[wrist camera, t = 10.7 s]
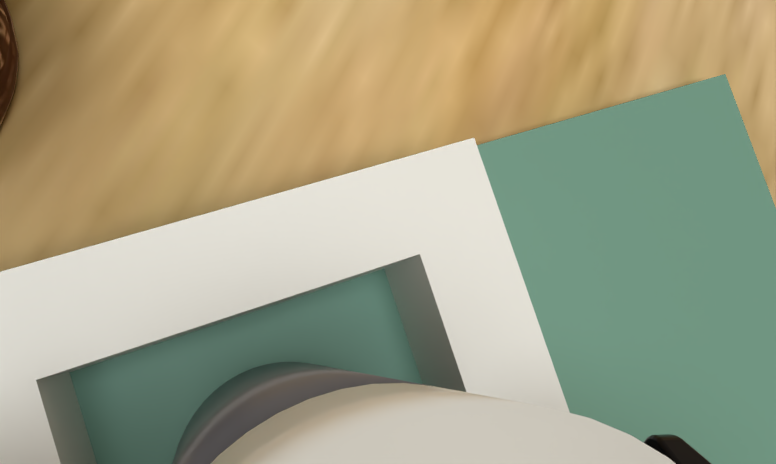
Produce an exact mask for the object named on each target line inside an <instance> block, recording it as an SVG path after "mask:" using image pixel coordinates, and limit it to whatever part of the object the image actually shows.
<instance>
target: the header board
mask: <svg viewBox="0 0 776 464" xmlns="http://www.w3.org/2000/svg"><path fill="white" fill-rule="evenodd" d="M278 362H302V363H310V364H316V365H321V366H327V367H332V368H338V369H343V370H348V371H354V372H359V373H365V374H370V375H376V376H381V377H386V378H392V379H397V380H403V381H408V382H414V383H419V384H425V385H430V386H435V387H441V388H446V389H452V390H457V391H463V392H468V393H473V394H479V395H484V396H490V397H495V398H501V399H506V400H512V401H517V402H522V403H528V404H533V405H539V406H544V407H549V408H553V409H557V410H561V411H565V412H568V413H572V414H576V415H580V416H584V417H588V418H591V419H594V420H596V421H598V422H601V423H603V424H606V425H608V426H610V427H613V428H615V429H617V430H620V431H622V432H625V433H627V434H629V435H631V436H633V437H635V438H636V439H638V440H640V441H641V442H643V443H644V441H645V440H646V438H647V437H649V436H651V435H663V434H671V435H676V436H678V437H680V438H681V439H683V440H684V441H685V442H686V443H688V444H689V445H690V446H691V447H692V448H694V449H695V450H696V451H697V452H698V453H700V454H701V455H702V456H703V457H704V458H706V459H707V460H708V461H709V462H710V463H711V464H776V208H775V205H774V203H773V200H772V197H771V195H770V192H769V189H768V187H767V184H766V181H765V179H764V176H763V173H762V171H761V168H760V165H759V163H758V160H757V157H756V155H755V152H754V149H753V147H752V144H751V141H750V139H749V136H748V133H747V131H746V128H745V125H744V123H743V120H742V117H741V115H740V112H739V110H738V107H737V104H736V102H735V99H734V96H733V94H732V91H731V88H730V86H729V83H728V80H727V78H726V75H725V74H724V75H721V76H717V77H714V78H710V79H707V80H703V81H700V82H696V83H693V84H689V85H686V86H682V87H679V88H675V89H672V90H668V91H665V92H661V93H658V94H654V95H651V96H647V97H644V98H640V99H637V100H633V101H630V102H626V103H623V104H619V105H616V106H613V107H609V108H606V109H602V110H599V111H595V112H592V113H588V114H585V115H581V116H578V117H574V118H571V119H567V120H564V121H560V122H557V123H553V124H550V125H546V126H543V127H539V128H536V129H532V130H529V131H525V132H522V133H518V134H515V135H511V136H508V137H505V138H501V139H498V140H494V141H491V142H487V143H484V144H480V145H477V144H476V142H475V139H474V138H471V139H468V140H464V141H461V142H457V143H454V144H450V145H447V146H443V147H440V148H436V149H432V150H429V151H425V152H422V153H418V154H415V155H411V156H408V157H404V158H401V159H397V160H394V161H390V162H387V163H383V164H379V165H376V166H372V167H369V168H365V169H362V170H358V171H355V172H351V173H348V174H344V175H341V176H337V177H334V178H330V179H326V180H323V181H319V182H316V183H312V184H309V185H305V186H302V187H298V188H295V189H291V190H288V191H284V192H281V193H277V194H273V195H270V196H266V197H263V198H259V199H256V200H252V201H249V202H245V203H242V204H238V205H235V206H231V207H228V208H224V209H220V210H217V211H213V212H210V213H206V214H203V215H199V216H196V217H192V218H189V219H185V220H182V221H178V222H175V223H171V224H167V225H164V226H160V227H157V228H153V229H150V230H146V231H143V232H139V233H136V234H132V235H129V236H125V237H122V238H118V239H114V240H111V241H107V242H104V243H100V244H97V245H93V246H90V247H86V248H83V249H79V250H76V251H72V252H69V253H65V254H62V255H58V256H54V257H51V258H47V259H44V260H40V261H37V262H33V263H30V264H26V265H23V266H19V267H16V268H12V269H9V270H5V271H1V272H0V464H172V463H173V460H174V457H175V454H176V451H177V448H178V445H179V442H180V440H181V437H182V435H183V433H184V431H185V428H186V426H187V425H188V423H189V421H190V420H191V418H192V416H193V415H194V413H195V412H196V411H197V410H198V408H199V407H200V406H201V404H202V403H203V402H204V401H205V400H206V399H207V398H208V397H209V396H210V395H211V394H212V393H213V392H214V391H215V390H216V389H218V388H219V387H220V386H222V385H223V384H224V383H225V382H227V381H228V380H230V379H232V378H233V377H235V376H237V375H239V374H241V373H243V372H245V371H247V370H250V369H252V368H255V367H259V366H262V365H266V364H271V363H278Z"/></svg>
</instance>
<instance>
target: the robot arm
mask: <svg viewBox="0 0 776 464" xmlns="http://www.w3.org/2000/svg"><path fill="white" fill-rule="evenodd" d="M644 443H645V444H646V445H648V446H650V447H651V448H653V449H655V450H656V451H658V452H660V453H662V454H663V455H665V456H667V457H668V458H669V459H671V460H672V461H673V462H674V463H676V464H711V463H710V462H709V461H708V460H707V459H706V458H704V457H703V456H702V455H701V454H700V453H698V452H697V451H696V450H695V449H694V448H692V447H691V446H690V445H689V444H688V443H686V442H685V441H684V440H683V439H681V438H680V437H678V436H676V435H671V434H663V435H651V436H649V437H647V438H646V440H645V441H644Z"/></svg>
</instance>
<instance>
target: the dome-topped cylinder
mask: <svg viewBox="0 0 776 464" xmlns="http://www.w3.org/2000/svg"><path fill="white" fill-rule="evenodd" d="M172 464H676V463H674V462H673V461H672V460H671V459H669V458H668V457H667V456H665V455H663V454H662V453H660V452H658V451H656V450H655V449H653V448H651V447H650V446H648V445H646V444H645V443H643V442H641V441H640V440H638V439H636V438H635V437H633V436H631V435H629V434H627V433H625V432H622V431H620V430H617V429H615V428H613V427H610V426H608V425H606V424H603V423H601V422H598V421H596V420H594V419H591V418H588V417H584V416H580V415H576V414H572V413H568V412H565V411H561V410H557V409H553V408H549V407H544V406H539V405H533V404H528V403H522V402H517V401H512V400H506V399H501V398H495V397H490V396H484V395H479V394H473V393H468V392H463V391H457V390H452V389H446V388H441V387H435V386H430V385H425V384H419V383H414V382H408V381H403V380H397V379H392V378H386V377H381V376H376V375H370V374H365V373H359V372H354V371H348V370H343V369H338V368H332V367H327V366H321V365H316V364H310V363H302V362H278V363H271V364H266V365H262V366H259V367H255V368H252V369H250V370H247V371H245V372H243V373H241V374H239V375H237V376H235V377H233V378H232V379H230V380H228V381H227V382H225V383H224V384H223V385H222V386H220V387H219V388H218V389H216V390H215V391H214V392H213V393H212V394H211V395H210V396H209V397H208V398H207V399H206V400H205V401H204V402H203V403H202V404H201V406H200V407H199V408H198V410H197V411H196V412H195V413H194V415H193V416H192V418H191V420H190V421H189V423H188V425H187V426H186V428H185V431H184V433H183V435H182V437H181V440H180V442H179V445H178V448H177V451H176V454H175V457H174V460H173V463H172Z"/></svg>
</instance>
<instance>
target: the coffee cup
mask: <svg viewBox="0 0 776 464" xmlns="http://www.w3.org/2000/svg"><path fill="white" fill-rule="evenodd" d="M18 56H19V55H18V45H17V41H16V37H15V33H14V27H13V22H12V19H11V16H10V13H9V10H8V8H7V5H6V3H5V0H0V125H1V123H2V121H3V118H4V116H5V113H6V111H7V108H8V106H9V104H10V101H11V99H12V96H13V93H14V90H15V84H16V77H17V68H18Z"/></svg>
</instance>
